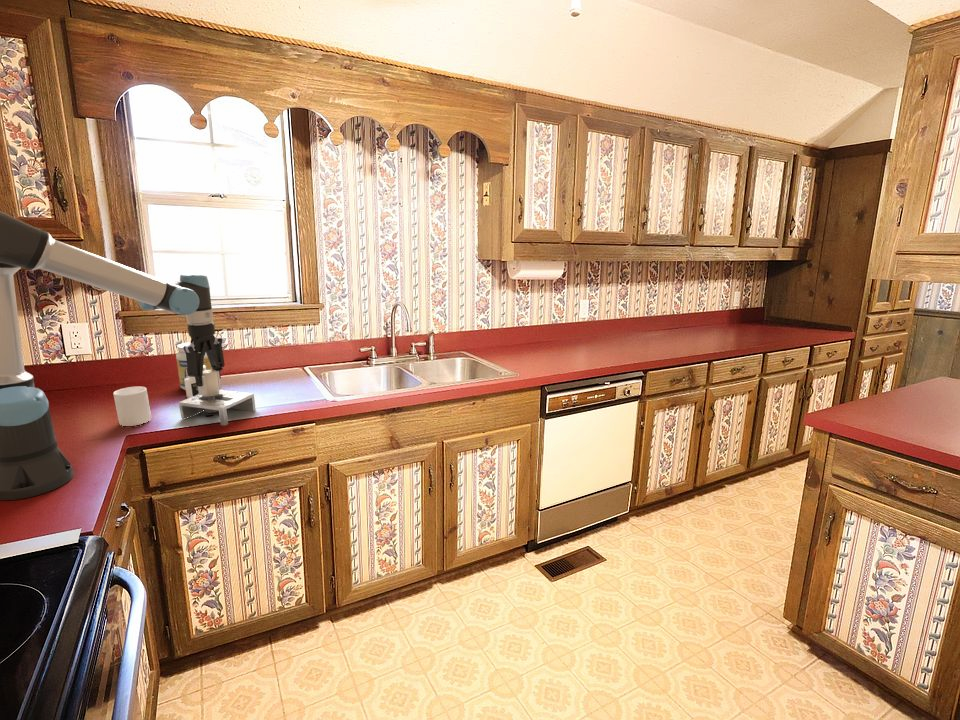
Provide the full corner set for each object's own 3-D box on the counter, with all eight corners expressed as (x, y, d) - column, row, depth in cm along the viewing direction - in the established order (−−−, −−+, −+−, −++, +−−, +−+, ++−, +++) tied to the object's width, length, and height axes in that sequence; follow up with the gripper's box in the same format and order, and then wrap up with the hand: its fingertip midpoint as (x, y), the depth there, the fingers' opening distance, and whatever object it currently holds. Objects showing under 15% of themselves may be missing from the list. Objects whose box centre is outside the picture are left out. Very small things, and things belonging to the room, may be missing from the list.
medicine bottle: (193, 402, 177) (188, 369, 173) (186, 397, 181) (181, 365, 178) (214, 397, 182) (210, 365, 178) (207, 392, 186) (203, 361, 183)
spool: (213, 413, 162) (207, 375, 159) (200, 411, 164) (194, 373, 160) (225, 408, 167) (220, 370, 164) (212, 406, 168) (207, 369, 165)
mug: (152, 412, 167) (146, 381, 164) (152, 424, 157) (146, 392, 154) (120, 417, 162) (114, 386, 160) (118, 429, 153) (112, 397, 150)
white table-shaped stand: (224, 425, 156) (222, 407, 155) (181, 419, 161) (178, 402, 159) (255, 410, 169) (253, 393, 168) (214, 404, 174) (212, 388, 172)
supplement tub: (180, 393, 185) (173, 349, 180) (181, 384, 195) (174, 342, 190) (217, 388, 190) (211, 346, 186) (215, 380, 201) (210, 339, 196)
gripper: (186, 329, 148) (197, 402, 154) (231, 318, 165) (239, 385, 171) (166, 327, 150) (178, 400, 156) (213, 317, 167) (221, 382, 173)
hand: (210, 392), depth 164 cm, fingers closed on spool, 5 cm apart
